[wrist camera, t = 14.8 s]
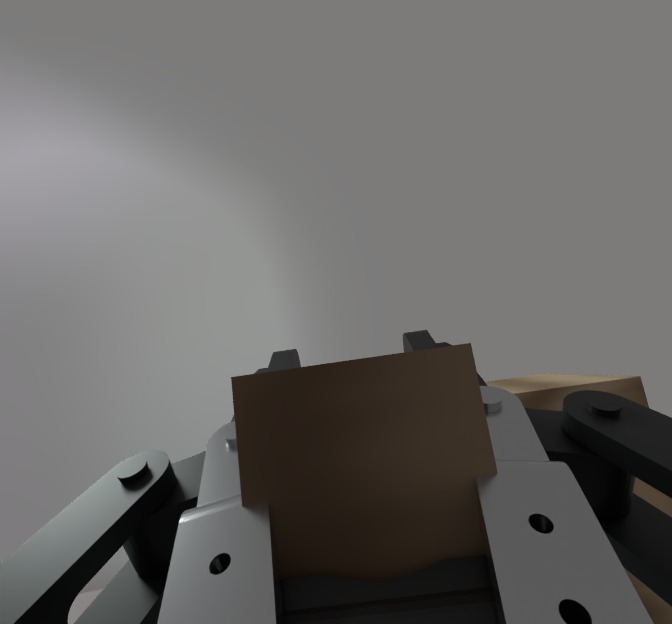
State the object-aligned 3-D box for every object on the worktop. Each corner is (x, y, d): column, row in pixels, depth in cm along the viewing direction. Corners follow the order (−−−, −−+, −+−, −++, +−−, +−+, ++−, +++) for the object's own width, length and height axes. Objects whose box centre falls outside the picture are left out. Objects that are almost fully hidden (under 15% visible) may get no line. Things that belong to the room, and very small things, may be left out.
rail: (250, 607, 5) (231, 377, 5) (339, 411, 28) (334, 374, 29) (519, 576, 4) (470, 342, 5) (382, 405, 28) (376, 368, 29)
